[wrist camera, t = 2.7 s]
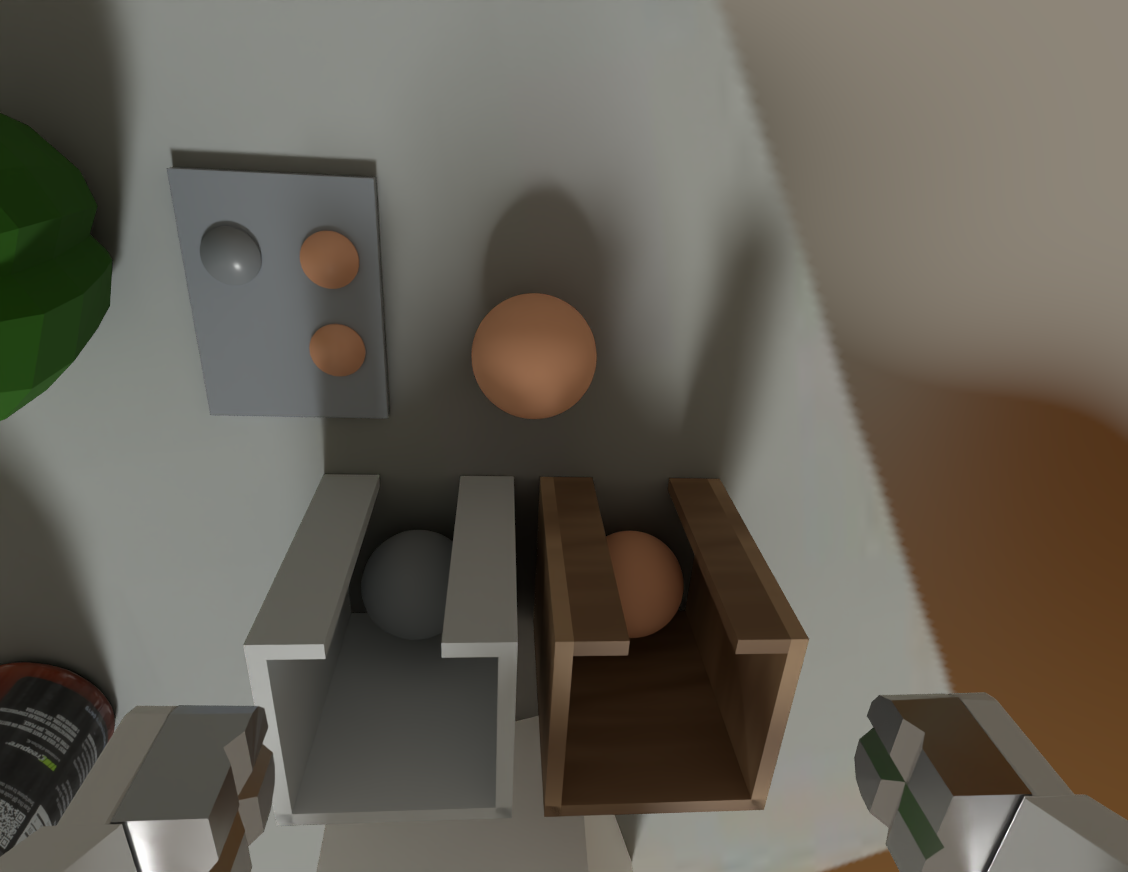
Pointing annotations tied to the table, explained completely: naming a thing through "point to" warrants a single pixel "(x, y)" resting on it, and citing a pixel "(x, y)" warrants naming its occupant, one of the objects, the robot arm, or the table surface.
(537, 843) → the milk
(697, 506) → the walnut tube
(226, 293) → the card
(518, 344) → the loose ball
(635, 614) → the tube ball terracotta
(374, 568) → the tube ball charcoal
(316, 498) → the grey tube
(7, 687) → the supplement bottle
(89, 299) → the bell pepper
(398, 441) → the table surface
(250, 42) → the table surface
